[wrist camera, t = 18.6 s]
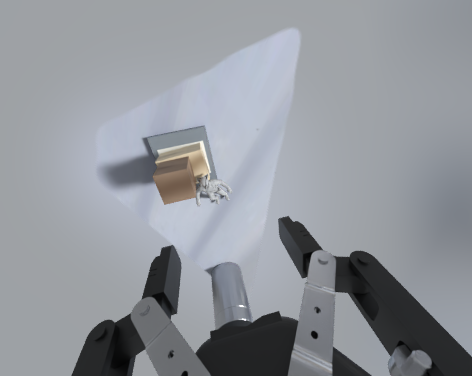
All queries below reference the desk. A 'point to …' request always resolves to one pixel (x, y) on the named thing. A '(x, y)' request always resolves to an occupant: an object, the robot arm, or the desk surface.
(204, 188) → the soldier figure
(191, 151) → the maple block
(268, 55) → the desk surface
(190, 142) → the board
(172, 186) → the walnut cube
